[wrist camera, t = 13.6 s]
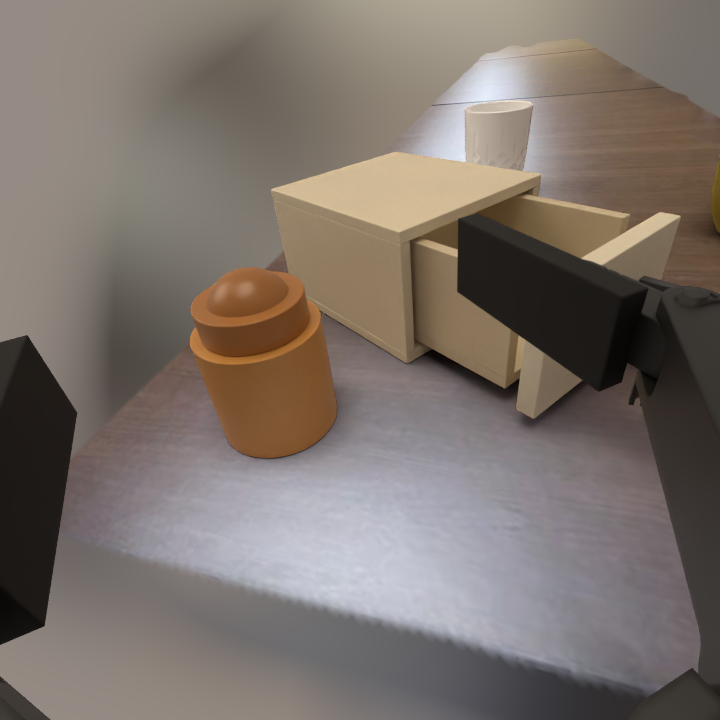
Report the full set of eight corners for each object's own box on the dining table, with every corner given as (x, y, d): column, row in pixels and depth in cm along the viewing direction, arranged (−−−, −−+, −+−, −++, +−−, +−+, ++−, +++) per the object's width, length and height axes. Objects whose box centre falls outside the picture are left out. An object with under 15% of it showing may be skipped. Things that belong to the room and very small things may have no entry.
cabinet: (527, 293, 38) (541, 173, 32) (407, 364, 32) (399, 232, 26) (401, 247, 49) (395, 151, 43) (293, 294, 42) (270, 189, 37)
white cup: (507, 204, 56) (515, 112, 50) (451, 196, 60) (452, 112, 55) (534, 185, 60) (544, 100, 55) (480, 180, 65) (484, 100, 59)
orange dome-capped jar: (257, 479, 25) (201, 325, 19) (207, 414, 30) (149, 275, 24) (360, 415, 28) (339, 266, 22) (299, 366, 33) (268, 234, 27)
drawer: (777, 376, 26) (849, 246, 21) (674, 500, 20) (741, 360, 16) (477, 270, 40) (481, 179, 36) (369, 325, 35) (358, 226, 30)
